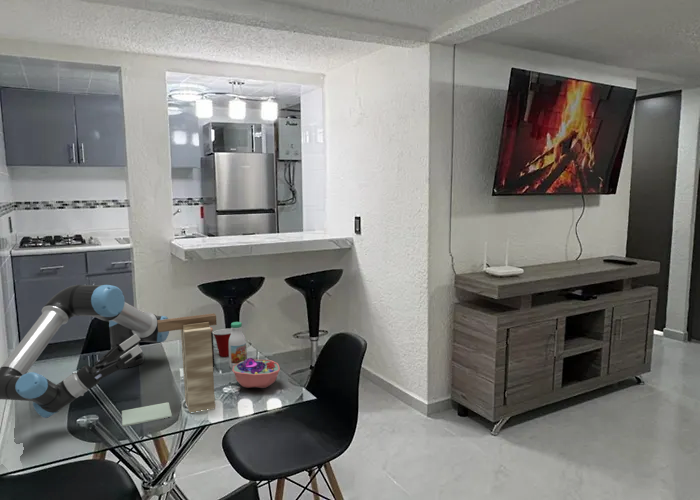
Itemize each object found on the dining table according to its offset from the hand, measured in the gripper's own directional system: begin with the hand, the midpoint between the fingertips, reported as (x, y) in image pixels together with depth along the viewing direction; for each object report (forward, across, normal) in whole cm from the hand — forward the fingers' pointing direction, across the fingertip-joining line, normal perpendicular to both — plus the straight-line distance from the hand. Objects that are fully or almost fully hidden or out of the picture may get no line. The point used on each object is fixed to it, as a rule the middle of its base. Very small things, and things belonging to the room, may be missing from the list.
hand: (139, 342), depth 180 cm
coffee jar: (+8, -36, -36) cm, 52 cm away
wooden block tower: (+3, 0, -33) cm, 33 cm away
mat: (-13, 0, -24) cm, 27 cm away
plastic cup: (+20, -50, -43) cm, 69 cm away
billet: (+16, 0, -6) cm, 17 cm away
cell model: (+23, -7, -45) cm, 51 cm away
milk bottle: (+21, -32, -44) cm, 58 cm away
